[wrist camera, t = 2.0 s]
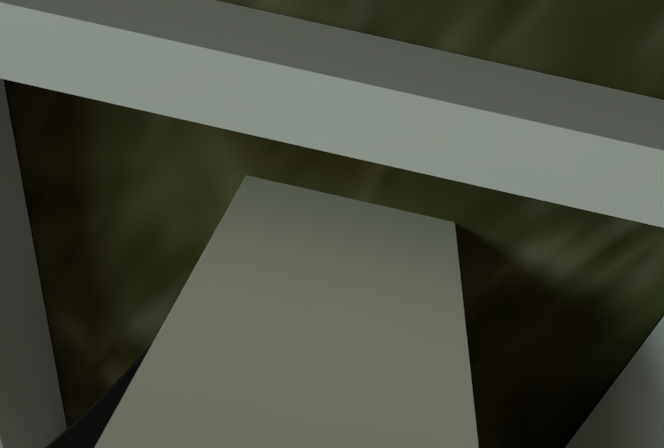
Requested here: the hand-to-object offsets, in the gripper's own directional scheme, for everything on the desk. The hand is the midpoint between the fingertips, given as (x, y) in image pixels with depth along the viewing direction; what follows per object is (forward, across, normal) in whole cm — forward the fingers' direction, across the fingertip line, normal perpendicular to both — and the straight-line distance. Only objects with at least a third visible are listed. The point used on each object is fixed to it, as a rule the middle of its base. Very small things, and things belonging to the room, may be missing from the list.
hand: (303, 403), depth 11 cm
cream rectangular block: (+2, 0, 0) cm, 2 cm away
